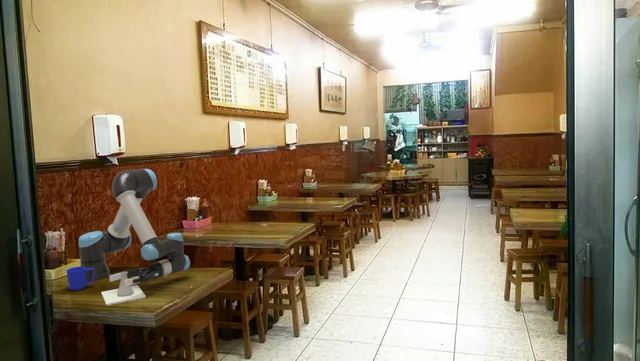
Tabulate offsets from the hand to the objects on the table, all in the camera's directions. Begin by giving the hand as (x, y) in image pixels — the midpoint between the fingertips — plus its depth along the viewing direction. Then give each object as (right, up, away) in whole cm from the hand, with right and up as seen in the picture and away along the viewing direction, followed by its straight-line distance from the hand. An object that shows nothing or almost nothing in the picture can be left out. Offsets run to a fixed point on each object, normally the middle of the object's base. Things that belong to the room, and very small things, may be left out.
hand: (117, 281), depth 206 cm
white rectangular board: (+1, -7, +4) cm, 8 cm away
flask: (+2, -7, +3) cm, 8 cm away
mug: (-25, -8, +18) cm, 32 cm away
